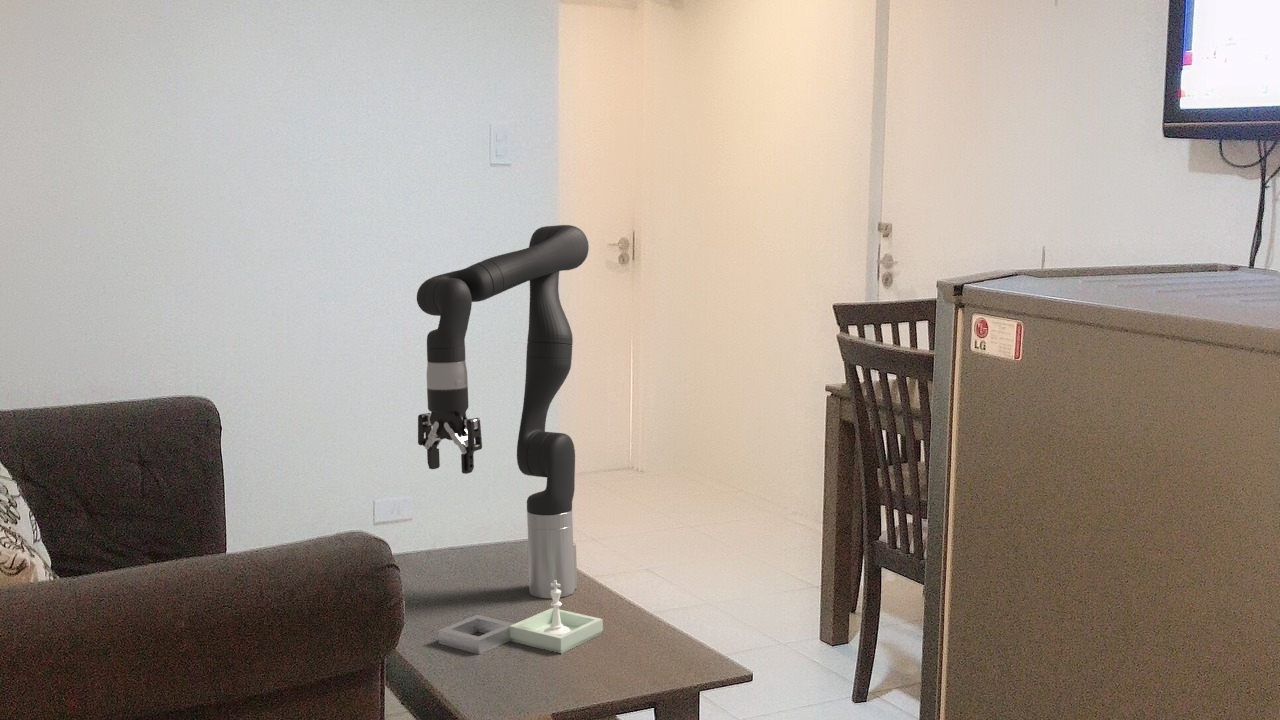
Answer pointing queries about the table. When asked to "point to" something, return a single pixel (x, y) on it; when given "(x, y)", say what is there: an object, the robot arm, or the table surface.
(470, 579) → the table surface
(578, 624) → the tray
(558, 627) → the chess piece
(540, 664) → the table surface
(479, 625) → the collar block
